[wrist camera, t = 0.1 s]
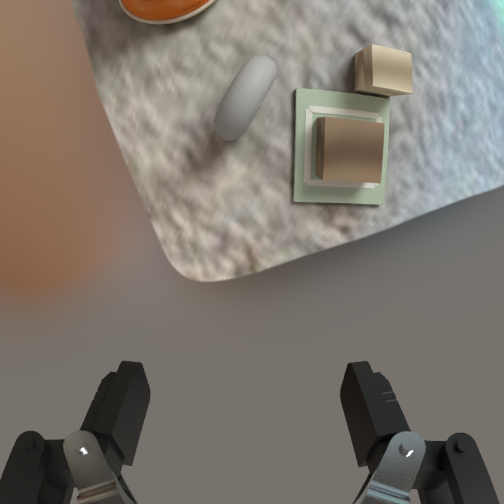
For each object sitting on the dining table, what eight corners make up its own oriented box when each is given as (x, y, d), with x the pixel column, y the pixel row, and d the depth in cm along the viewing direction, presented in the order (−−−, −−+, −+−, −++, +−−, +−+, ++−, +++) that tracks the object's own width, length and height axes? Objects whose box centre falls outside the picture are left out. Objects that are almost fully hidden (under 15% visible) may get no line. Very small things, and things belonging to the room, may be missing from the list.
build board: (295, 89, 32) (296, 88, 32) (386, 99, 33) (389, 99, 32) (293, 200, 38) (294, 202, 37) (380, 203, 38) (383, 204, 37)
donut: (239, 143, 35) (236, 149, 26) (213, 131, 34) (201, 133, 25) (278, 73, 32) (289, 55, 22) (252, 61, 31) (254, 38, 22)
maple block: (354, 54, 30) (371, 44, 25) (389, 61, 30) (411, 53, 25) (354, 90, 32) (372, 85, 27) (390, 96, 32) (412, 93, 27)
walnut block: (316, 117, 33) (325, 116, 29) (371, 122, 33) (384, 123, 29) (315, 174, 36) (322, 180, 32) (368, 177, 36) (380, 183, 32)
